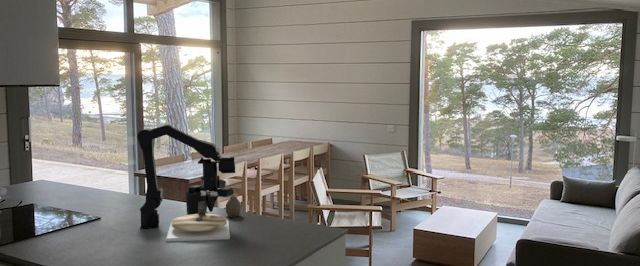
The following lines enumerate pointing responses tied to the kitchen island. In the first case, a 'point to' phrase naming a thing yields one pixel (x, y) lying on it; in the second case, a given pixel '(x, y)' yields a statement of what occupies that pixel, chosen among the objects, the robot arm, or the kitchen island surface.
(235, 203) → the vase
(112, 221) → the kitchen island surface
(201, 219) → the handwheel
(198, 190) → the robot arm
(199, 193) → the pen holder
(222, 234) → the base plate
